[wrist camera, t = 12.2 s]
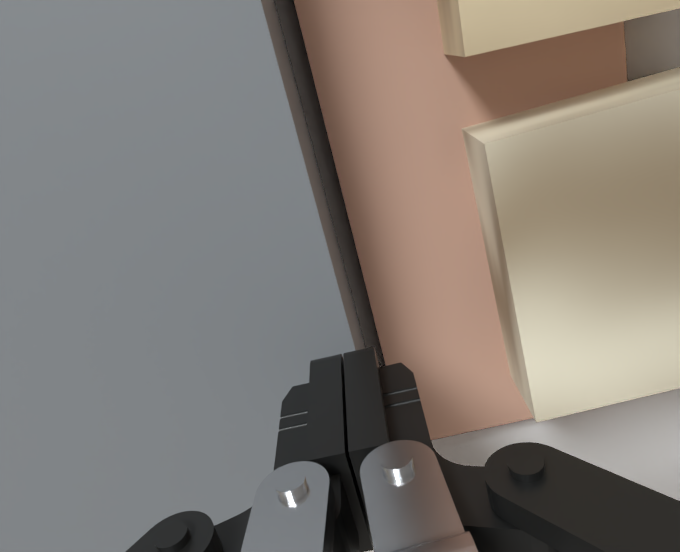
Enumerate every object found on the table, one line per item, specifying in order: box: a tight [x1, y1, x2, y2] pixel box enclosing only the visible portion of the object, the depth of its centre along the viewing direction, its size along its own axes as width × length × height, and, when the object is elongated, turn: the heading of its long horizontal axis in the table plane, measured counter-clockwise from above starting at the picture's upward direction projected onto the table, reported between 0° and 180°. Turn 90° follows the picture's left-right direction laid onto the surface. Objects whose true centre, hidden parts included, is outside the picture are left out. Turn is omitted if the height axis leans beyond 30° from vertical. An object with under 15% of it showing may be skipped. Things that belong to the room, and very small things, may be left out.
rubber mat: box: [294, 0, 628, 440], centre depth 16 cm, size 22×8×1 cm, turn 14°
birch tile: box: [462, 67, 680, 423], centre depth 16 cm, size 8×6×2 cm
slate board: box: [0, 0, 366, 552], centre depth 15 cm, size 22×12×4 cm, turn 14°
